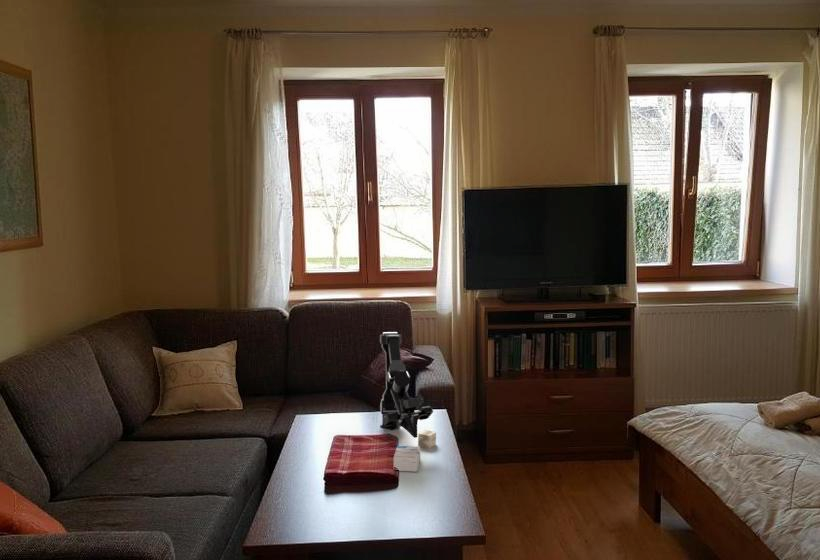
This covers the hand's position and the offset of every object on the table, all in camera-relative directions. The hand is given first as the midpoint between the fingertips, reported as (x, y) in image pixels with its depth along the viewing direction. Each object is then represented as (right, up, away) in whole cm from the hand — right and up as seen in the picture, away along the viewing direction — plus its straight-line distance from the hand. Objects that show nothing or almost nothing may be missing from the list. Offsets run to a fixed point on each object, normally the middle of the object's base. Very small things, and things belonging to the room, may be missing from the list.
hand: (415, 437), depth 226 cm
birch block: (+4, -7, +15) cm, 17 cm away
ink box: (-3, -6, +2) cm, 7 cm away
